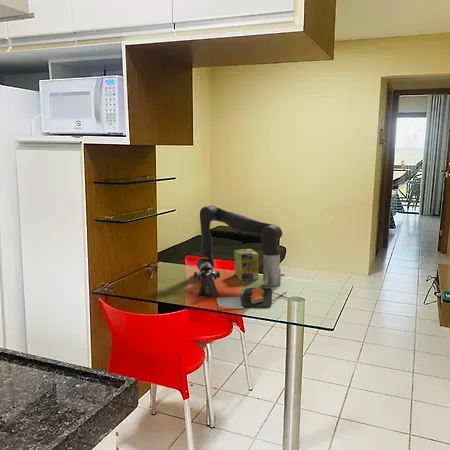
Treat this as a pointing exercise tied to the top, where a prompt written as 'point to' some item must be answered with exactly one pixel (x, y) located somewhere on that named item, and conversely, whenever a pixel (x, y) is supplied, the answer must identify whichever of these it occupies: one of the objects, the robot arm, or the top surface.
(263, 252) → the robot arm
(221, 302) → the mat
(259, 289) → the sushi plate
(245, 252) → the protein box
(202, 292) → the phone stand
